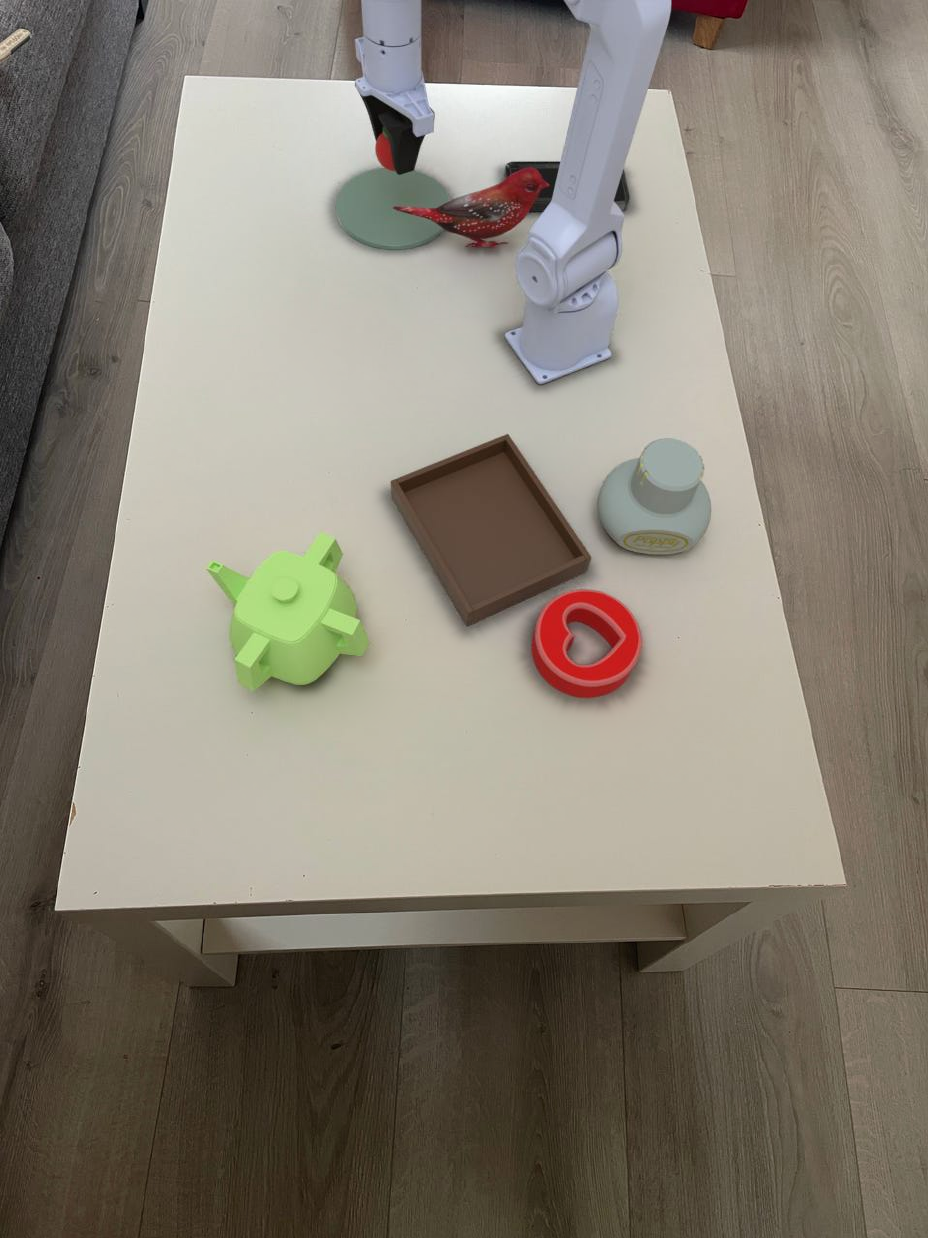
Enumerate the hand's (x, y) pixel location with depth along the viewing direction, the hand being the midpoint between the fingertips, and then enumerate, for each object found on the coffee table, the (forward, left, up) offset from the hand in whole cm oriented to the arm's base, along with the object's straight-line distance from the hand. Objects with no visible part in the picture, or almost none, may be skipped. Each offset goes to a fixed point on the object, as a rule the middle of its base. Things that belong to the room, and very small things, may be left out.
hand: (395, 158), depth 96 cm
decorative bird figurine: (-6, +8, -3) cm, 10 cm away
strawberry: (0, 0, +1) cm, 1 cm away
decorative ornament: (+9, +59, -9) cm, 60 cm away
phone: (-22, +4, -9) cm, 23 cm away
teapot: (+32, +46, -9) cm, 57 cm away
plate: (-1, -2, -9) cm, 9 cm away
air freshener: (-4, +50, -9) cm, 50 cm away
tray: (+11, +44, -9) cm, 46 cm away
